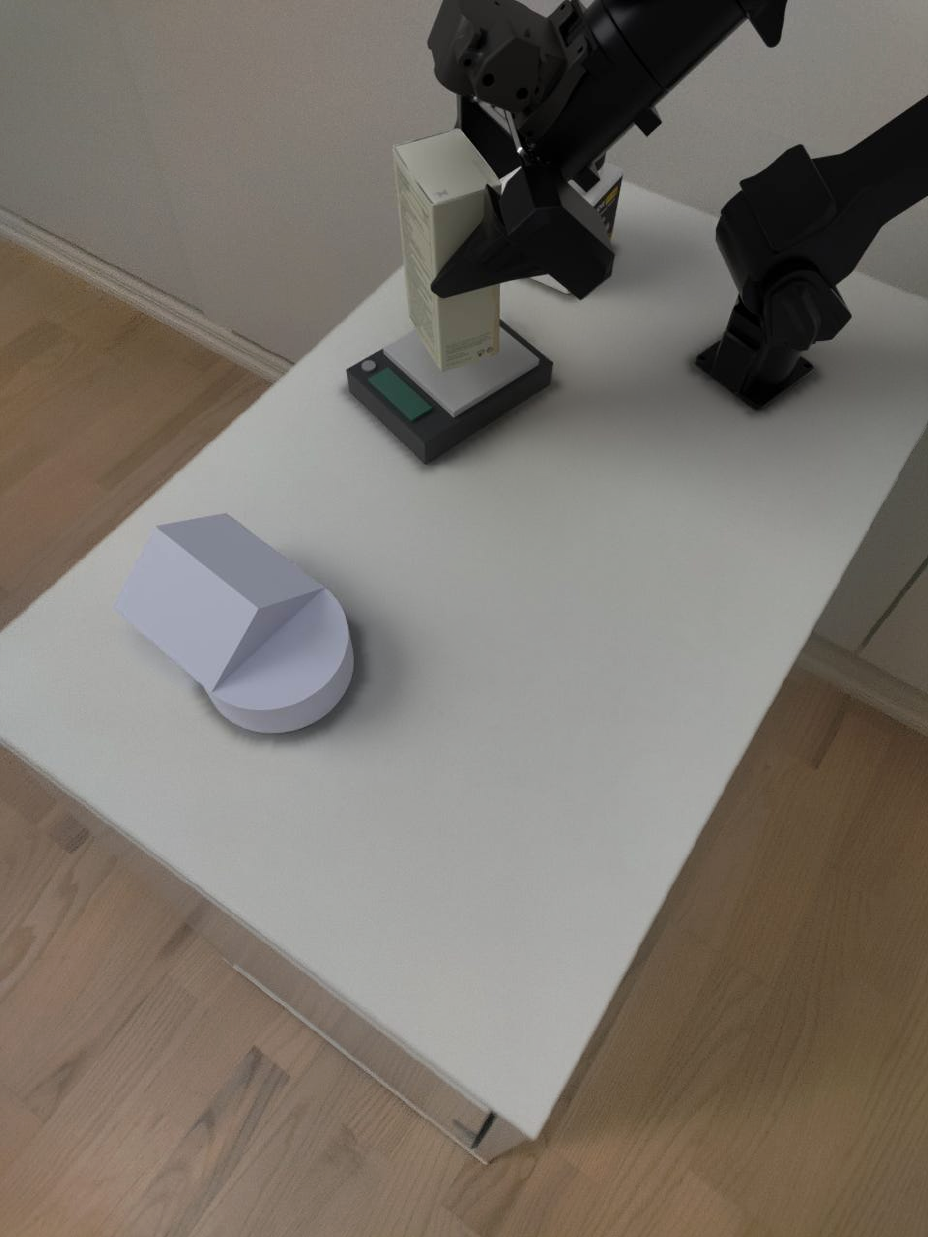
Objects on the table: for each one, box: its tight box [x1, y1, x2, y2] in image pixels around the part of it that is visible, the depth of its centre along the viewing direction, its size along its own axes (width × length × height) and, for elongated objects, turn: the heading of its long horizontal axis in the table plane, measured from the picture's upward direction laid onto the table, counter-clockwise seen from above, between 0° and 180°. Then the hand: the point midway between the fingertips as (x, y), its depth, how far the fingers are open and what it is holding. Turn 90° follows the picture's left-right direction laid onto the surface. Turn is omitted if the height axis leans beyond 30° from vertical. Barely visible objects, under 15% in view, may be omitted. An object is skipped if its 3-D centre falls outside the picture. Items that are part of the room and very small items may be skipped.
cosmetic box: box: [391, 128, 502, 372], centre depth 53 cm, size 6×4×12 cm
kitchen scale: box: [345, 318, 554, 465], centre depth 63 cm, size 12×9×3 cm
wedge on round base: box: [112, 512, 355, 734], centre depth 51 cm, size 9×7×13 cm
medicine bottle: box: [500, 152, 624, 295], centre depth 67 cm, size 7×7×12 cm
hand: (427, 253), depth 53 cm, fingers closed on cosmetic box, 7 cm apart
